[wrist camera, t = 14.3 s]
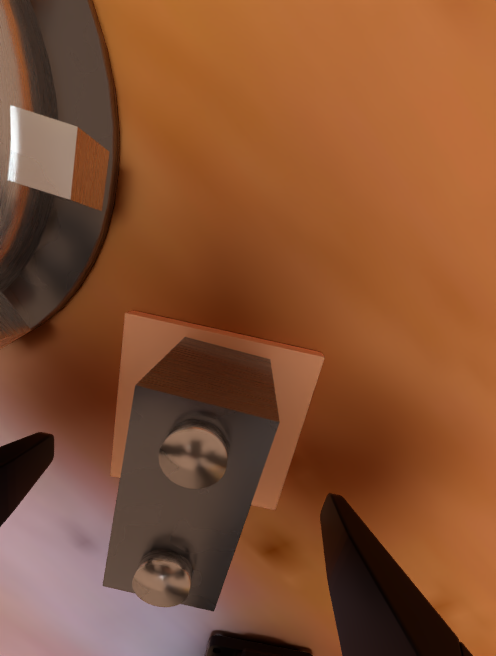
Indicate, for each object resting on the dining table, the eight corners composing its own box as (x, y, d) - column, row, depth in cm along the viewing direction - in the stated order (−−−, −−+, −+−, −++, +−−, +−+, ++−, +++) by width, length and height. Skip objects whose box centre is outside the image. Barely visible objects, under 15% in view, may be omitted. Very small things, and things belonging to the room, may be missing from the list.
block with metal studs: (228, 493, 11) (211, 630, 7) (155, 475, 11) (94, 603, 7) (270, 359, 10) (281, 433, 5) (185, 336, 9) (126, 394, 5)
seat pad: (274, 498, 12) (275, 510, 11) (117, 465, 12) (109, 475, 11) (320, 352, 10) (324, 357, 9) (132, 310, 10) (125, 312, 9)
